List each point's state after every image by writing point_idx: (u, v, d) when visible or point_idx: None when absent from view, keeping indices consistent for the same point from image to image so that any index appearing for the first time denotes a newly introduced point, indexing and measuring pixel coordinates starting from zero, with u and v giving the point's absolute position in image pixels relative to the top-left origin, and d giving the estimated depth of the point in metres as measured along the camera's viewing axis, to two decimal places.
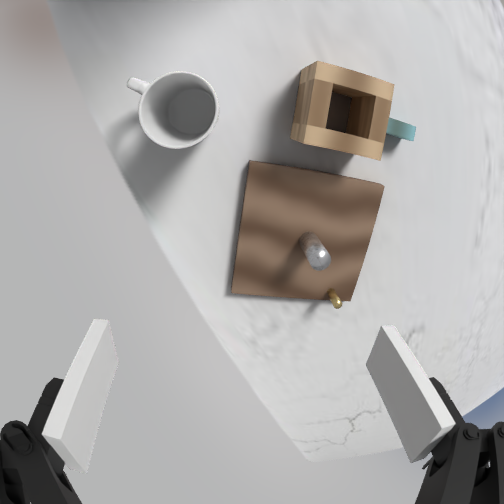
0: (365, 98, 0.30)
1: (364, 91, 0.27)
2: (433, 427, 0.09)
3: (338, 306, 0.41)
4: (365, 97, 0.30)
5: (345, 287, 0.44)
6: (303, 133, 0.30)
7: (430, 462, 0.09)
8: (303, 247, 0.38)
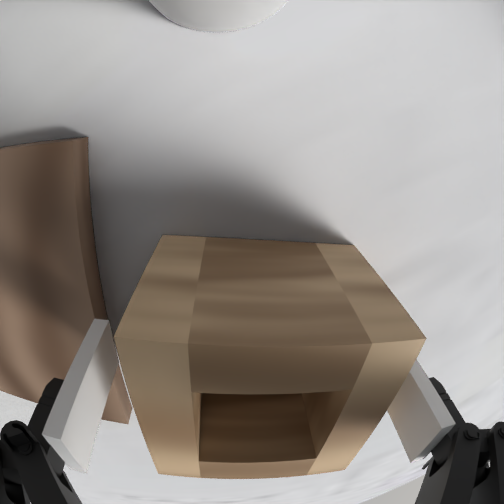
0: (300, 413, 0.13)
1: None
2: (433, 427, 0.09)
3: None
4: (303, 412, 0.13)
5: None
6: (155, 322, 0.08)
7: (430, 462, 0.09)
8: None
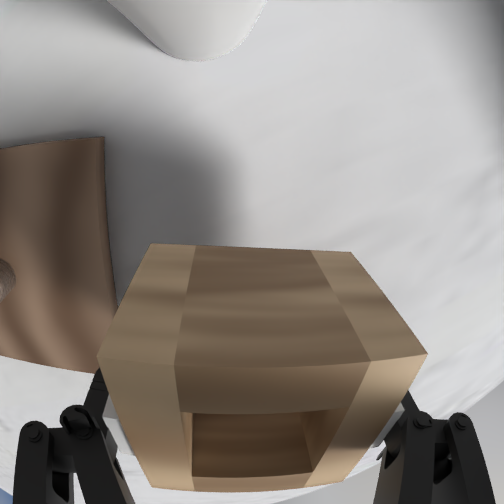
0: (296, 425, 0.13)
1: (322, 456, 0.10)
2: None
3: None
4: (299, 424, 0.13)
5: None
6: (140, 341, 0.07)
7: (383, 453, 0.10)
8: None
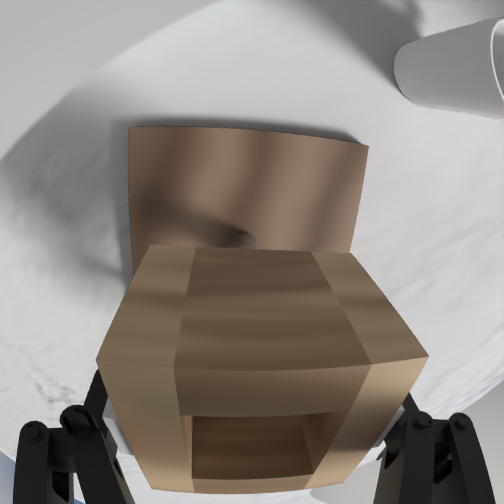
0: (296, 427, 0.13)
1: None
2: None
3: None
4: (299, 426, 0.13)
5: None
6: (140, 343, 0.07)
7: (383, 453, 0.10)
8: (244, 244, 0.22)
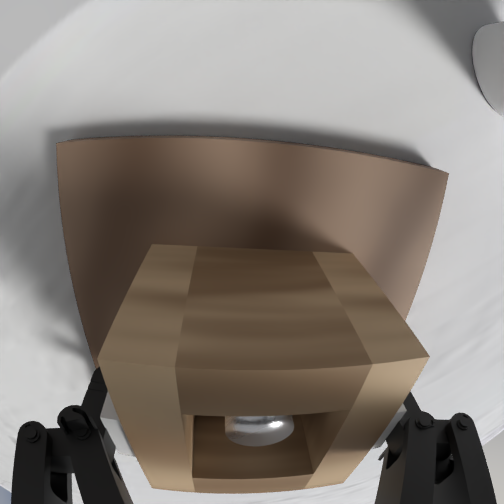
0: (297, 427, 0.13)
1: None
2: None
3: None
4: (300, 425, 0.13)
5: None
6: (141, 343, 0.07)
7: (385, 453, 0.10)
8: None
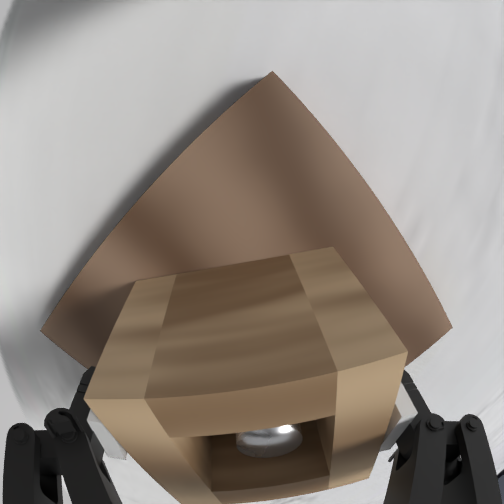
0: (311, 429, 0.12)
1: (332, 460, 0.09)
2: (394, 415, 0.09)
3: None
4: (314, 427, 0.12)
5: None
6: (118, 380, 0.08)
7: (395, 455, 0.09)
8: None
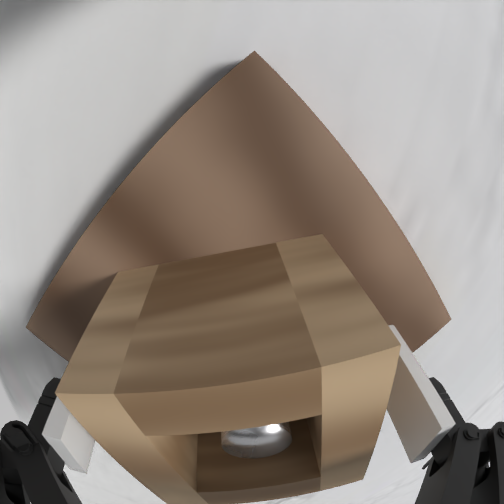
0: (302, 427, 0.12)
1: None
2: (433, 427, 0.09)
3: None
4: (305, 426, 0.12)
5: None
6: (90, 373, 0.07)
7: (430, 462, 0.09)
8: None
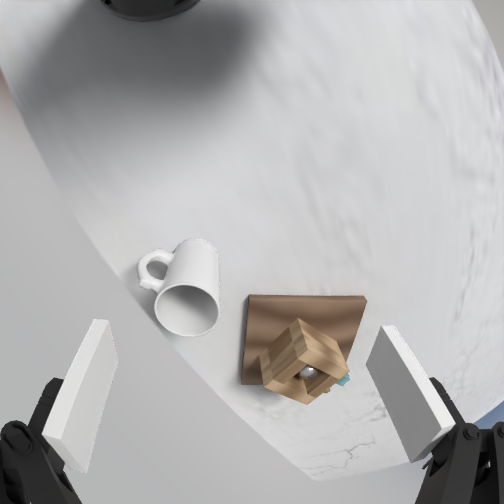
0: None
1: (325, 371, 0.41)
2: (433, 427, 0.09)
3: (327, 391, 0.48)
4: None
5: None
6: (267, 379, 0.41)
7: (430, 462, 0.09)
8: None
